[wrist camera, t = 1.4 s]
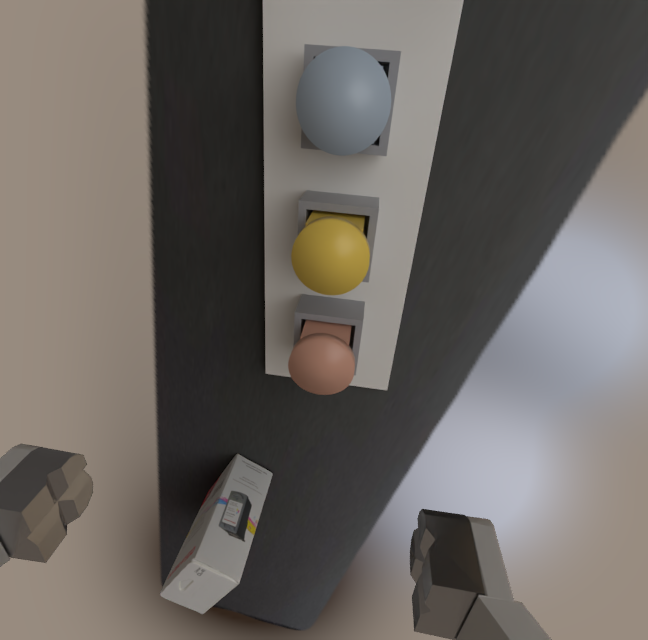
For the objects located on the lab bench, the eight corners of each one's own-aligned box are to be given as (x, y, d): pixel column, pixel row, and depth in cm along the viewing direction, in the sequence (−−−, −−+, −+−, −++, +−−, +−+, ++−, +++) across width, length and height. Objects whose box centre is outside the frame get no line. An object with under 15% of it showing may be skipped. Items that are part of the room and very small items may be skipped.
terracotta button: (301, 305, 30) (288, 336, 26) (361, 312, 29) (358, 345, 26) (298, 354, 32) (287, 390, 28) (354, 361, 32) (350, 398, 28)
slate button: (312, 51, 22) (297, 42, 18) (395, 57, 21) (398, 49, 18) (308, 142, 24) (294, 151, 20) (383, 148, 24) (383, 159, 20)
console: (267, -27, 22) (246, -50, 19) (464, -16, 21) (479, -37, 18) (268, 367, 36) (256, 395, 33) (386, 383, 36) (387, 414, 32)
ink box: (242, 507, 48) (204, 618, 38) (205, 488, 47) (156, 597, 37) (275, 470, 44) (243, 585, 34) (236, 449, 43) (190, 560, 33)
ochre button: (305, 198, 26) (292, 216, 22) (375, 205, 25) (374, 225, 22) (302, 263, 28) (290, 290, 24) (366, 270, 28) (364, 299, 24)
